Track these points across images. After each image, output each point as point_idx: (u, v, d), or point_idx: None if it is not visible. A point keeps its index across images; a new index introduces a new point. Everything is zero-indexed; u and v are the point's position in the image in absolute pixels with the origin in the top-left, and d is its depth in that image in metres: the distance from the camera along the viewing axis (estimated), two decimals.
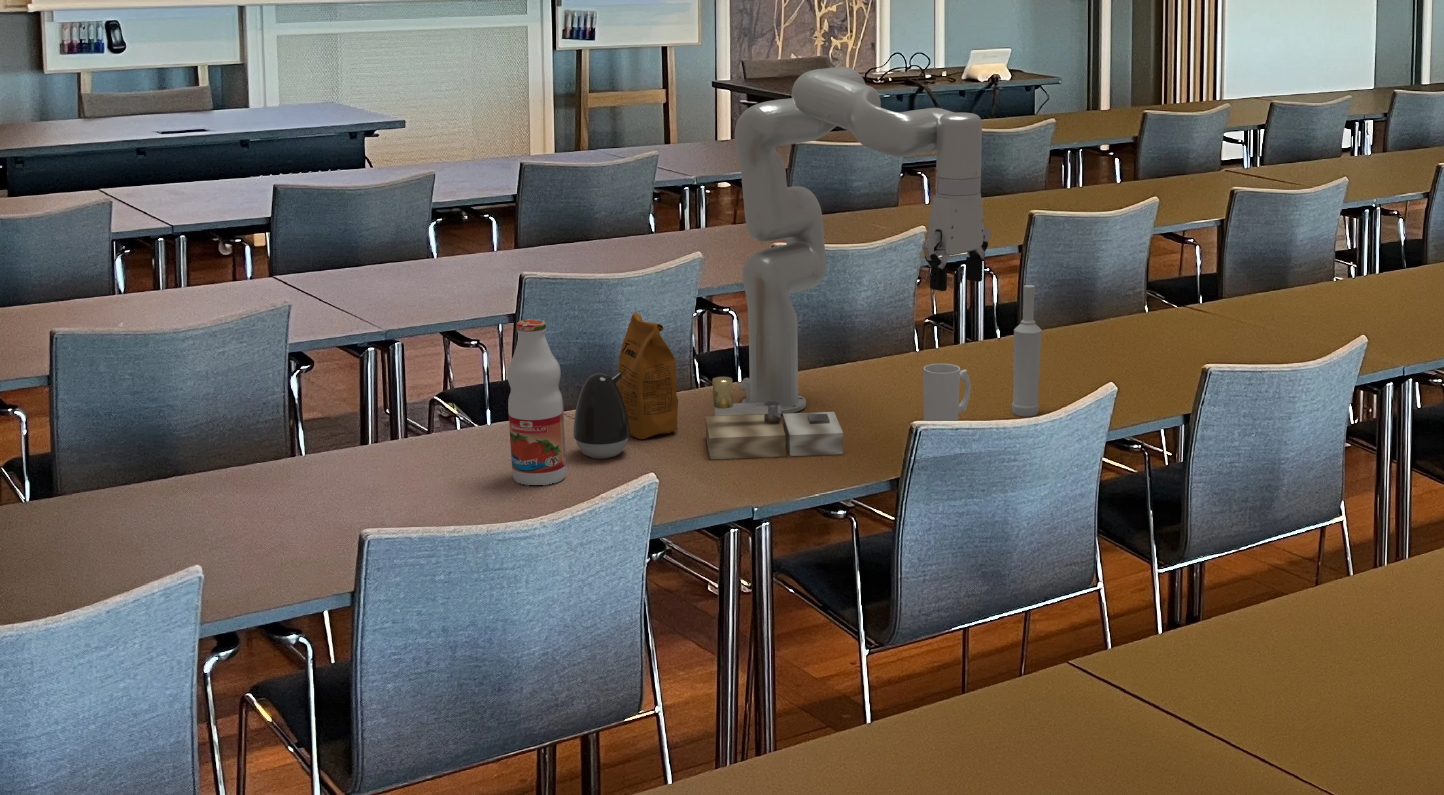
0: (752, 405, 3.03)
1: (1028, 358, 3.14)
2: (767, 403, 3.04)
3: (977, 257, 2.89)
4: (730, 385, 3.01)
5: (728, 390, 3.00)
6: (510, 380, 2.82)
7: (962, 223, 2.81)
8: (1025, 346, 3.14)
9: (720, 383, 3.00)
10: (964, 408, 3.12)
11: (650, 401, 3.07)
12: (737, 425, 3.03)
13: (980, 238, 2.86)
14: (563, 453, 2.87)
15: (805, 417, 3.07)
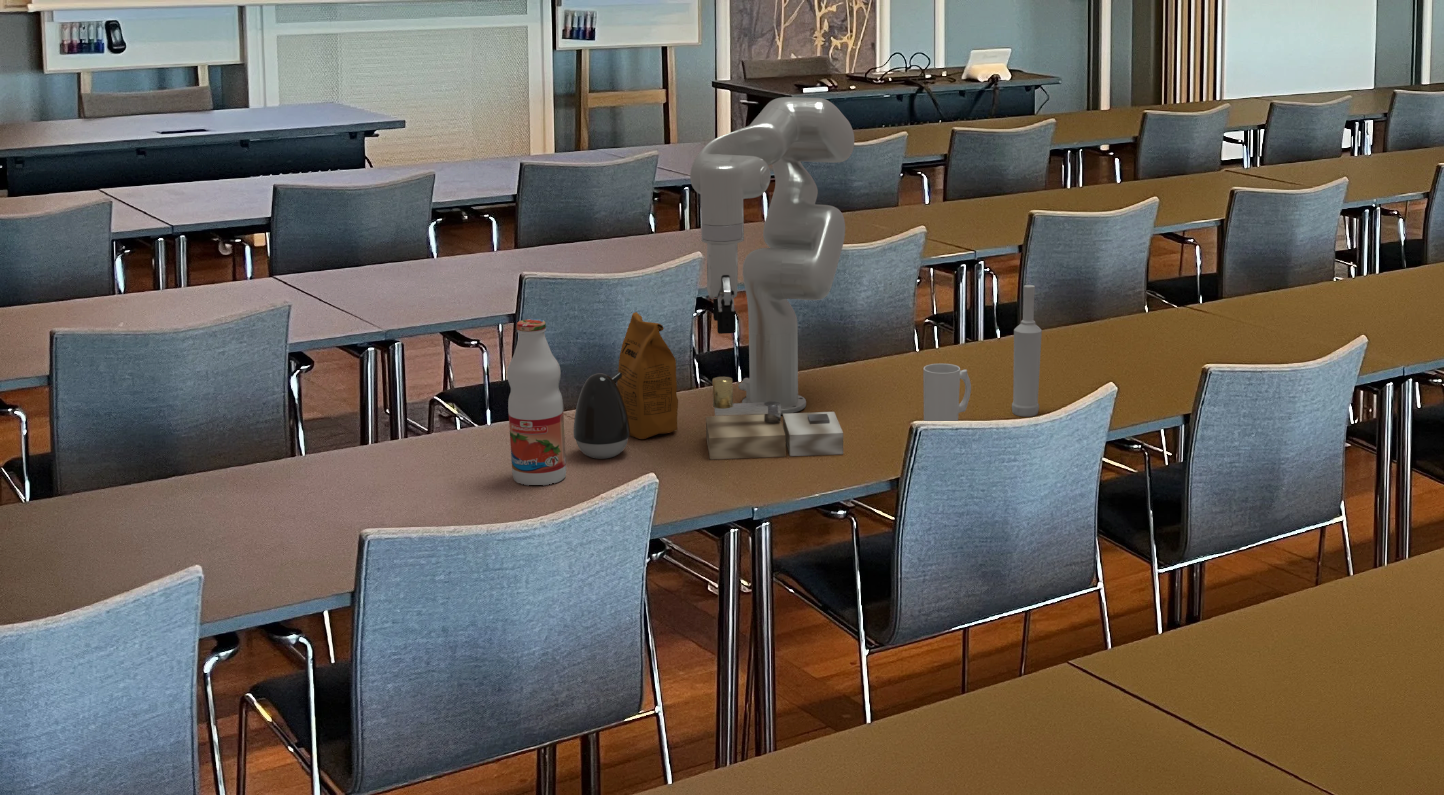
0: (752, 405, 3.03)
1: (1028, 358, 3.14)
2: (767, 403, 3.04)
3: None
4: (730, 385, 3.01)
5: (728, 390, 3.00)
6: (510, 380, 2.82)
7: None
8: (1025, 346, 3.14)
9: (720, 383, 3.00)
10: (964, 408, 3.12)
11: (650, 401, 3.07)
12: (737, 425, 3.03)
13: None
14: (563, 453, 2.87)
15: (805, 417, 3.07)
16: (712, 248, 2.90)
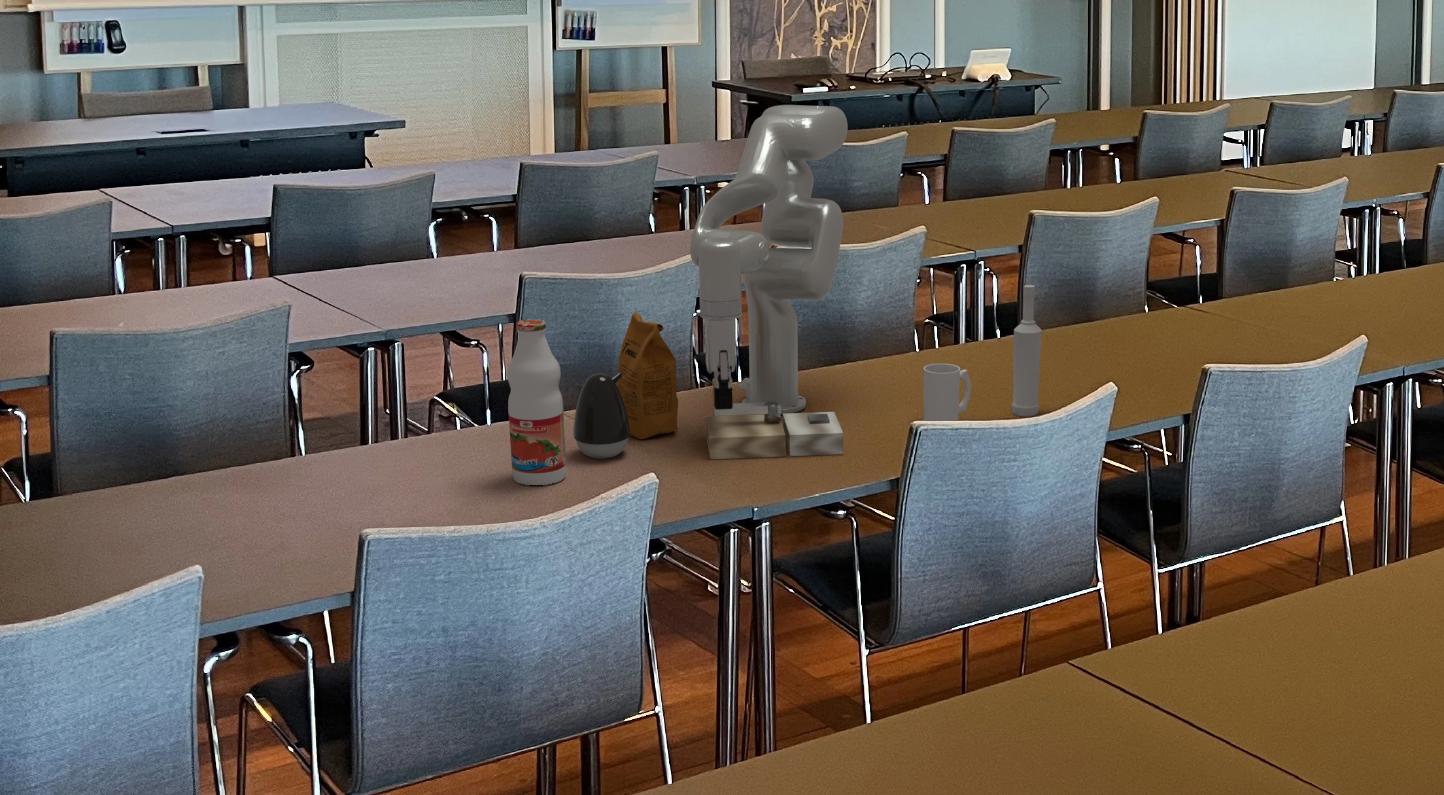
0: (752, 405, 3.03)
1: (1028, 358, 3.14)
2: (767, 403, 3.04)
3: None
4: None
5: None
6: (510, 380, 2.82)
7: None
8: (1025, 346, 3.14)
9: None
10: (964, 408, 3.12)
11: (650, 401, 3.07)
12: (737, 425, 3.03)
13: None
14: (563, 453, 2.87)
15: (805, 417, 3.07)
16: (710, 324, 2.94)
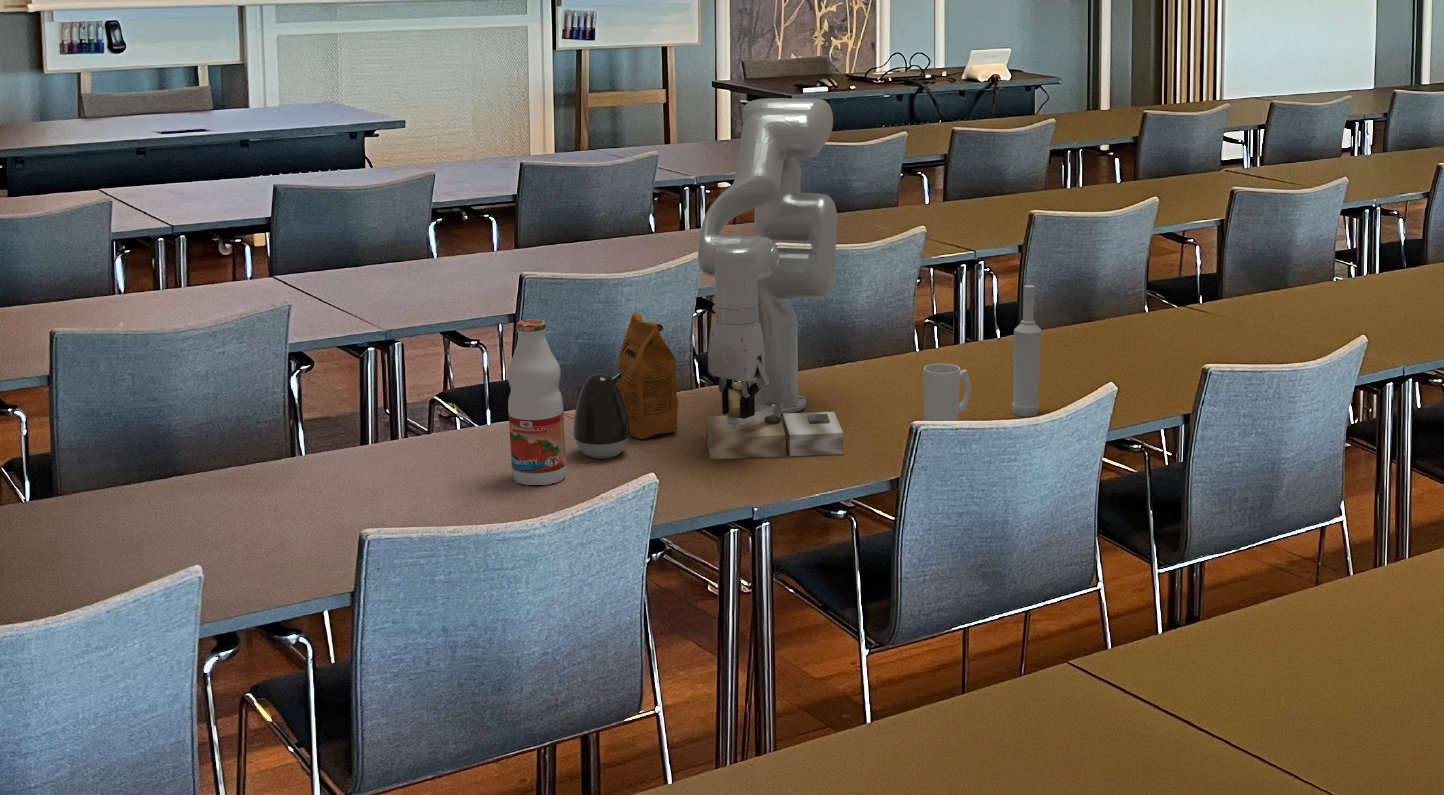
0: (760, 408, 3.00)
1: (1028, 358, 3.14)
2: (767, 404, 3.03)
3: None
4: None
5: None
6: (510, 380, 2.82)
7: None
8: (1025, 346, 3.14)
9: None
10: (964, 408, 3.12)
11: (650, 401, 3.07)
12: None
13: None
14: (563, 453, 2.87)
15: (805, 417, 3.07)
16: (746, 331, 2.88)
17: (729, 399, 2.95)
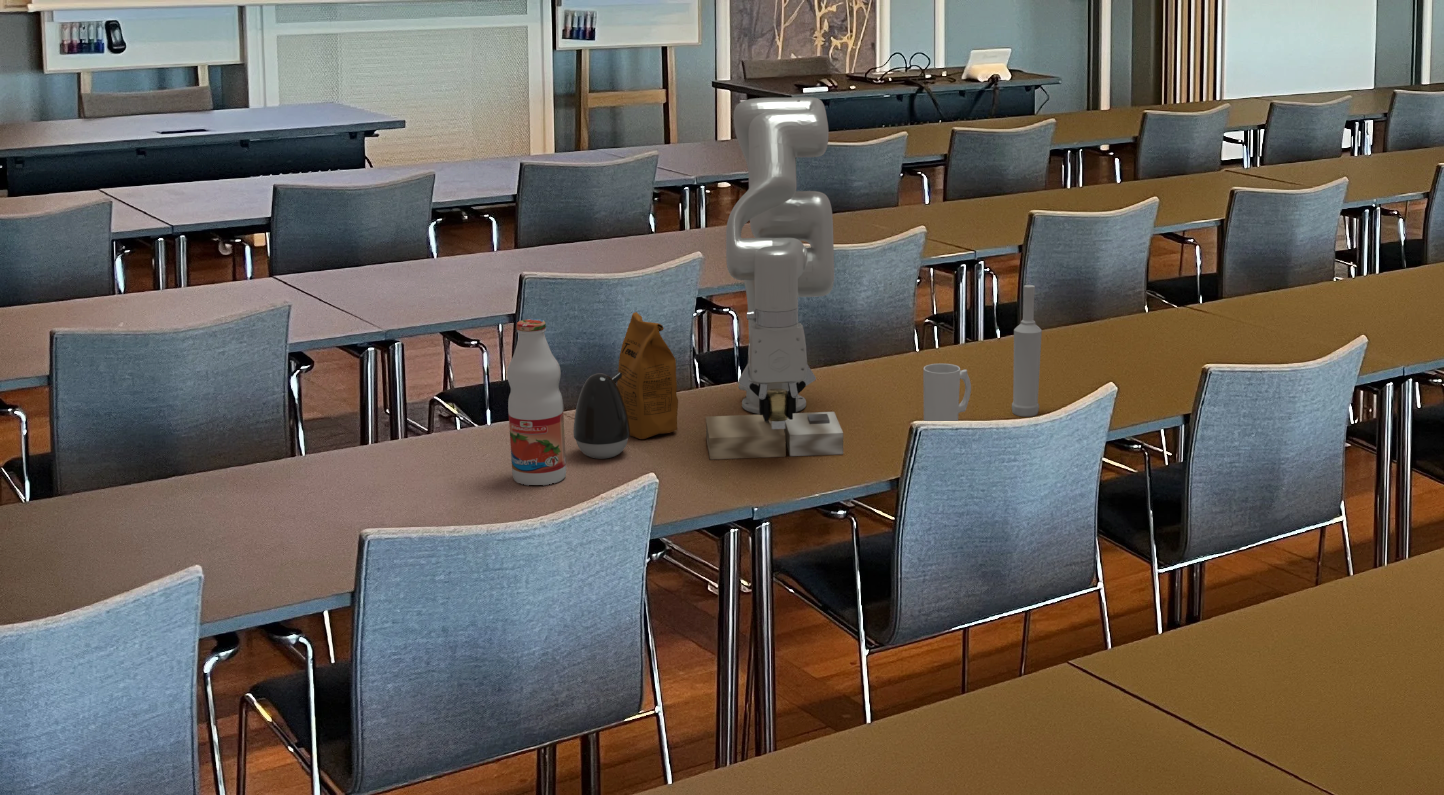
0: None
1: (1028, 358, 3.14)
2: None
3: None
4: None
5: None
6: (510, 380, 2.82)
7: None
8: (1025, 346, 3.14)
9: (787, 392, 2.93)
10: (964, 408, 3.12)
11: (650, 401, 3.07)
12: (737, 425, 3.03)
13: None
14: (563, 453, 2.87)
15: (805, 417, 3.07)
16: (801, 330, 2.88)
17: (775, 403, 2.92)
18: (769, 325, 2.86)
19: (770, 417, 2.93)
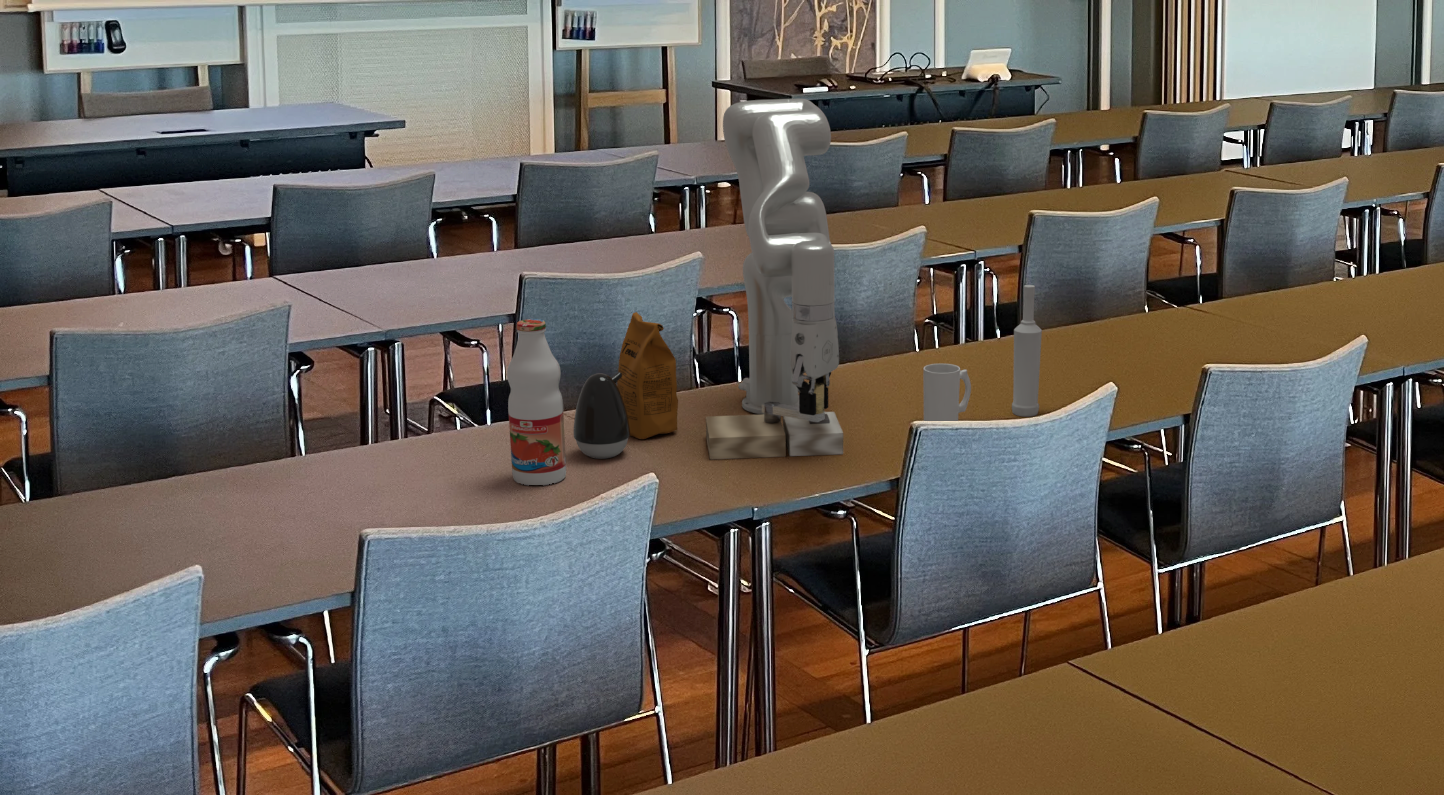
0: (790, 406, 3.02)
1: (1028, 358, 3.14)
2: (774, 405, 3.03)
3: None
4: None
5: None
6: (510, 380, 2.82)
7: None
8: (1025, 346, 3.14)
9: (821, 383, 2.98)
10: (964, 408, 3.12)
11: (650, 401, 3.07)
12: (737, 425, 3.03)
13: None
14: (563, 453, 2.87)
15: None
16: None
17: (820, 396, 2.96)
18: (825, 318, 2.90)
19: None
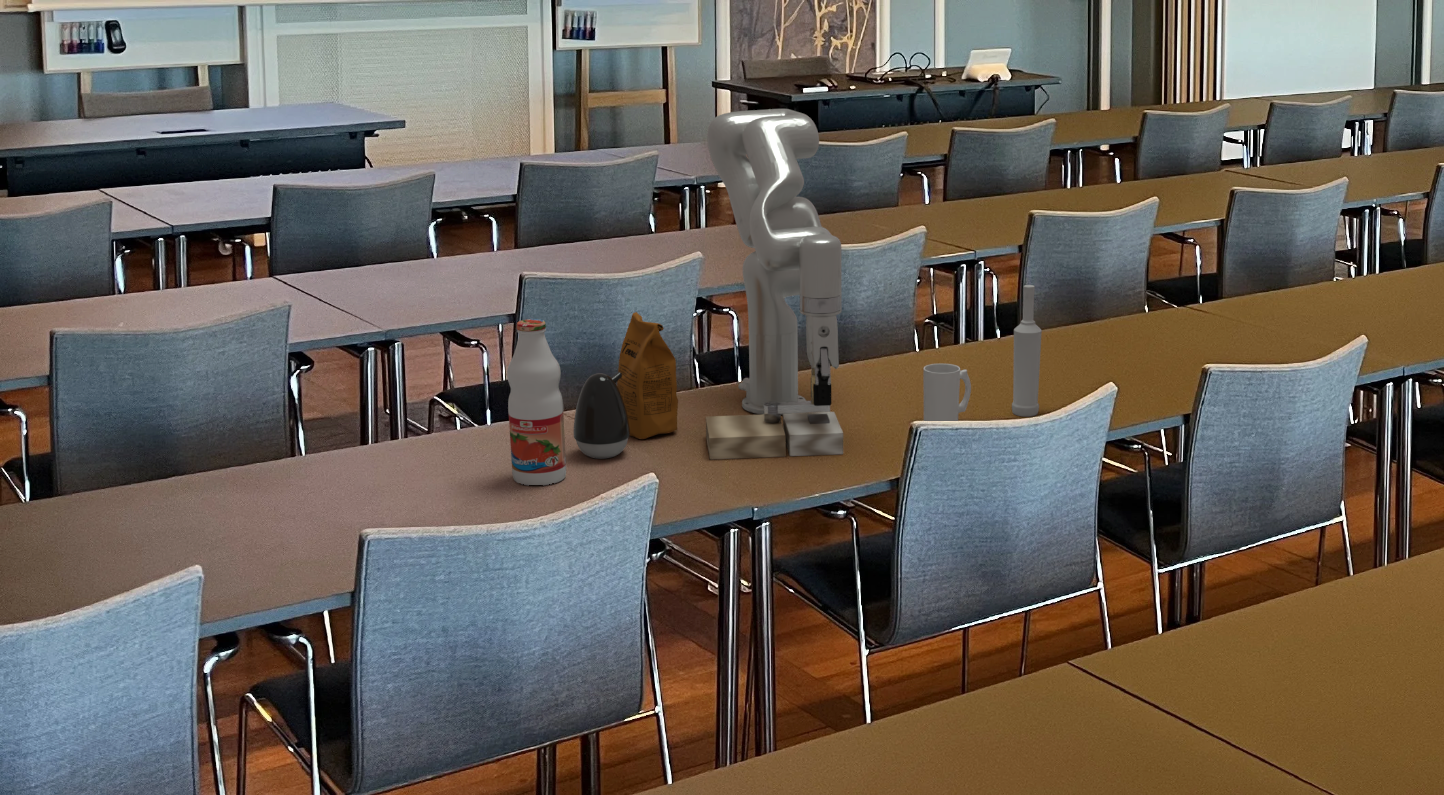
0: (791, 402, 3.04)
1: (1028, 358, 3.14)
2: (776, 404, 3.03)
3: None
4: None
5: None
6: (510, 380, 2.82)
7: (806, 333, 3.02)
8: (1025, 346, 3.14)
9: None
10: (964, 408, 3.12)
11: (650, 401, 3.07)
12: (737, 425, 3.03)
13: (811, 359, 2.97)
14: (563, 453, 2.87)
15: (805, 417, 3.07)
16: None
17: None
18: (840, 308, 2.97)
19: None
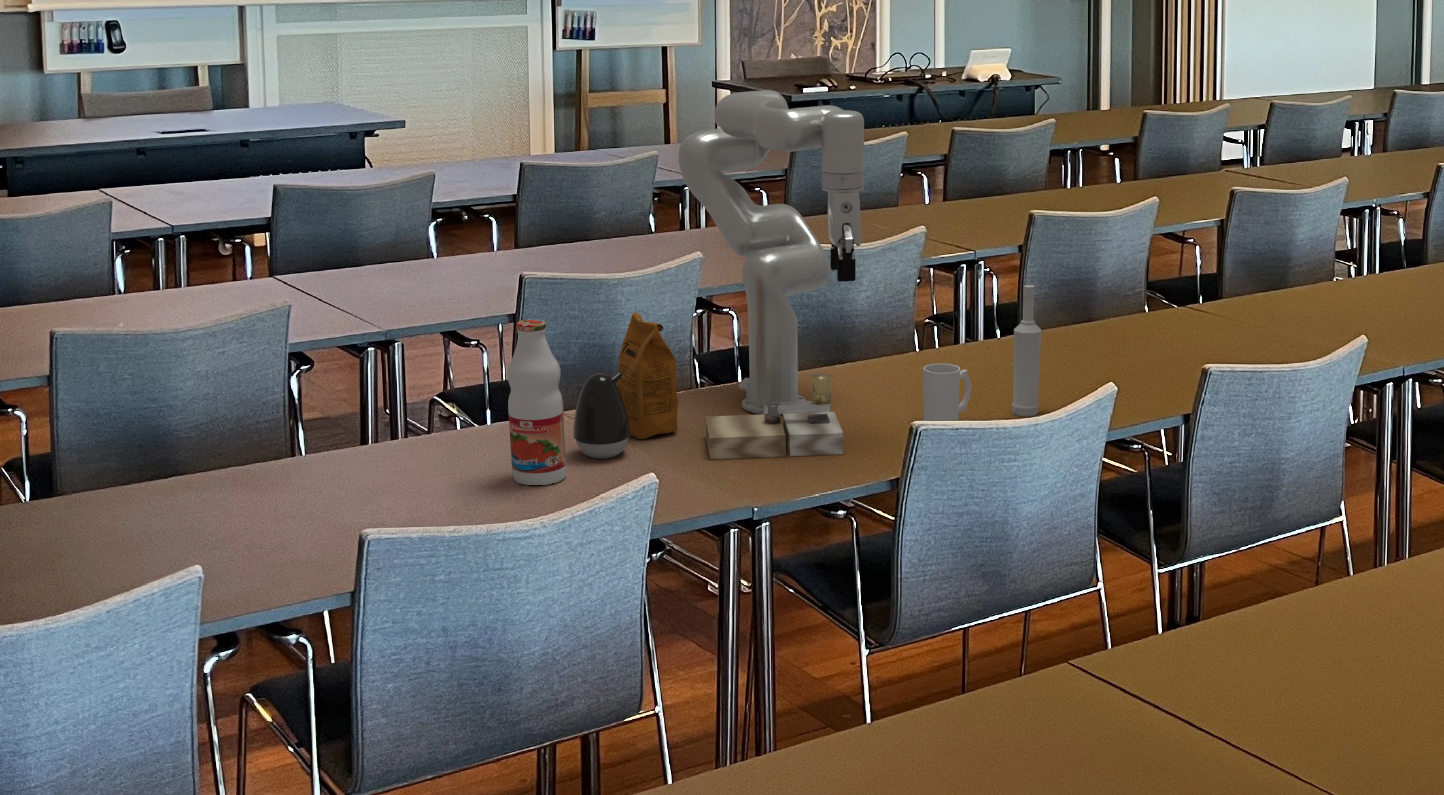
0: (791, 402, 3.04)
1: (1028, 358, 3.14)
2: (776, 404, 3.03)
3: None
4: None
5: None
6: (510, 380, 2.82)
7: None
8: (1025, 346, 3.14)
9: (822, 374, 3.04)
10: (964, 408, 3.12)
11: (650, 401, 3.07)
12: (737, 425, 3.03)
13: (833, 236, 2.95)
14: (563, 453, 2.87)
15: (805, 417, 3.07)
16: None
17: (830, 385, 3.02)
18: (862, 185, 2.95)
19: (828, 401, 3.02)
